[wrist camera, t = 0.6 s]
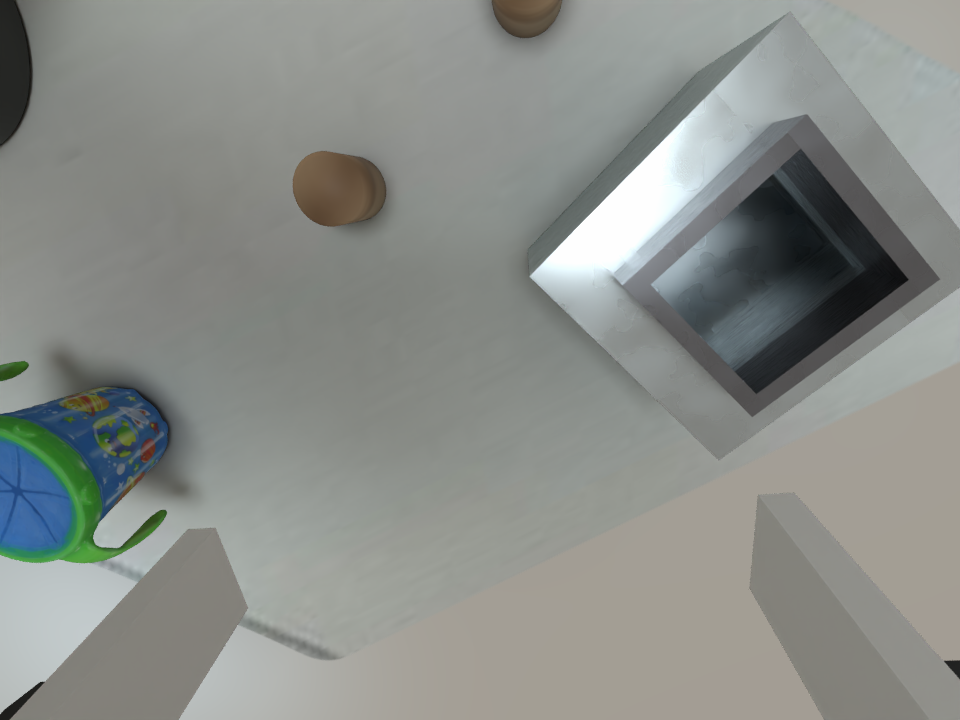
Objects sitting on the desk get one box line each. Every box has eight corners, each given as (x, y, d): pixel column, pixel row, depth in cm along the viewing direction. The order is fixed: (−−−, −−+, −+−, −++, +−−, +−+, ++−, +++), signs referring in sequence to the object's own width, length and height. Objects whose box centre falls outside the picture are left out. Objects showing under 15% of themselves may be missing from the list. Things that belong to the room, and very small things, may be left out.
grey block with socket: (527, 249, 32) (530, 287, 20) (698, 71, 27) (830, -15, 16) (665, 385, 34) (739, 489, 22) (842, 241, 30) (1048, 277, 18)
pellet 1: (315, 190, 32) (279, 191, 27) (351, 142, 30) (319, 134, 26) (361, 233, 32) (334, 241, 28) (398, 187, 31) (376, 188, 26)
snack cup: (20, 367, 38) (-145, 428, 29) (114, 316, 36) (-33, 362, 27) (141, 514, 43) (32, 608, 33) (232, 477, 40) (142, 566, 31)
